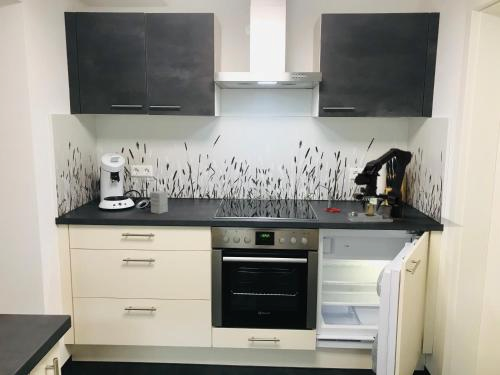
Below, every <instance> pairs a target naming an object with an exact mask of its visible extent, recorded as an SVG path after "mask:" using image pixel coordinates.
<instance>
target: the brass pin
mask: <svg viewBox="0 0 500 375" xmlns="http://www.w3.org/2000/svg"><path fill="white" fill-rule="evenodd" d="M365 213H366V216H374V213H375V204H373V203H366V212H365Z"/></svg>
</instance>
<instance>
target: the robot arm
mask: <svg viewBox="0 0 500 375" xmlns="http://www.w3.org/2000/svg"><path fill="white" fill-rule="evenodd" d="M394 158H395V161H396V163H397V164H396V165H397V166H396V170H395V174H394V178H393V184H392V188H391V189H390V190H387V192H385V193H381V192H380V193H378V194H377V189H378V177H381V174H380V173H379V172H380V171H381V170H382V169H383V166H384V165H385V164H387V163H389V162H390V161H391V160H392V159H394ZM412 159H413V154H412V152H411V151H410V150H403V149H400V148H398V147H397V148H396V147H392V148H390V149H389V150H388V151H386V152H385V153H384V154H382V155H381V156H379V157H378V158H376V159H373V160H369V161H368V162H366V163H365V166H364V168H363V169H362V171H361V172H359V173H357V175H356V176H355V178H354V183H355V185H356V186H361V187H360V188H359V192H358V193H357V192H356V193H354V194H353V197H352V198H353V199H355V200H356V201H359V203H360V204H361V208H362V211H363V212H366V211H365V210H366V200H365V199H376V207H375V211H376V212H378V211H379V209H380V207H381V205H382V204H383V203H384V202H385V201H386V203H387V206H388V207H389V208H388V214H387V215H389V217H390V218H400V219H401V218H404V216H403V208H405V207H406V202H405V201H404V200H403V193H402V187H403V182H404V180H405V173H406V170H407V167H408V165H409V164H410V163H411V161H412ZM364 186H365V187H364Z"/></svg>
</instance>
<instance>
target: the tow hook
mask: <svg viewBox="0 0 500 375" xmlns="http://www.w3.org/2000/svg"><path fill="white" fill-rule="evenodd" d="M331 200H332V191H330V190H329V194H328V203H327V207H326V208H324V211H325V212H329V213H340V211H341V210H340V209H338V208H333V207H331V205H332V204H331V202H332V201H331Z"/></svg>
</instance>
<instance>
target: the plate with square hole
mask: <svg viewBox="0 0 500 375" xmlns="http://www.w3.org/2000/svg"><path fill="white" fill-rule="evenodd" d="M366 213H367V212H358V211H351V212H347V219H348V220H349V221H351V222H353V223H394V222H393V221H394V219H393V218H392V217H391V216H389V215H388V214H386V213H383V214H382V215H380V214H378V213H376V212H374V216H366Z"/></svg>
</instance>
